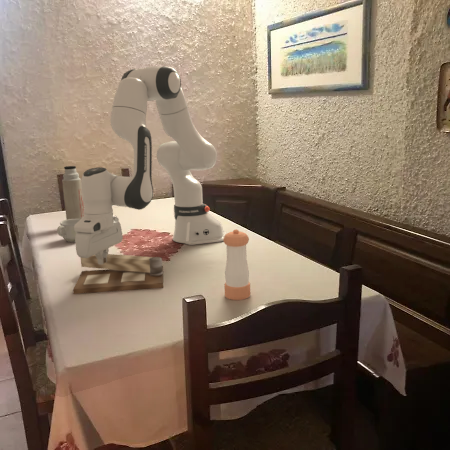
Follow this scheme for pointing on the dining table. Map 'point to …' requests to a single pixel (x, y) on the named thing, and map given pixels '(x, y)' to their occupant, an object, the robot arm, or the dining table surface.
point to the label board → (116, 281)
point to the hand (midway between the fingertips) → (102, 263)
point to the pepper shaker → (236, 266)
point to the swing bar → (126, 263)
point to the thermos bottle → (72, 193)
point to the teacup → (68, 229)
